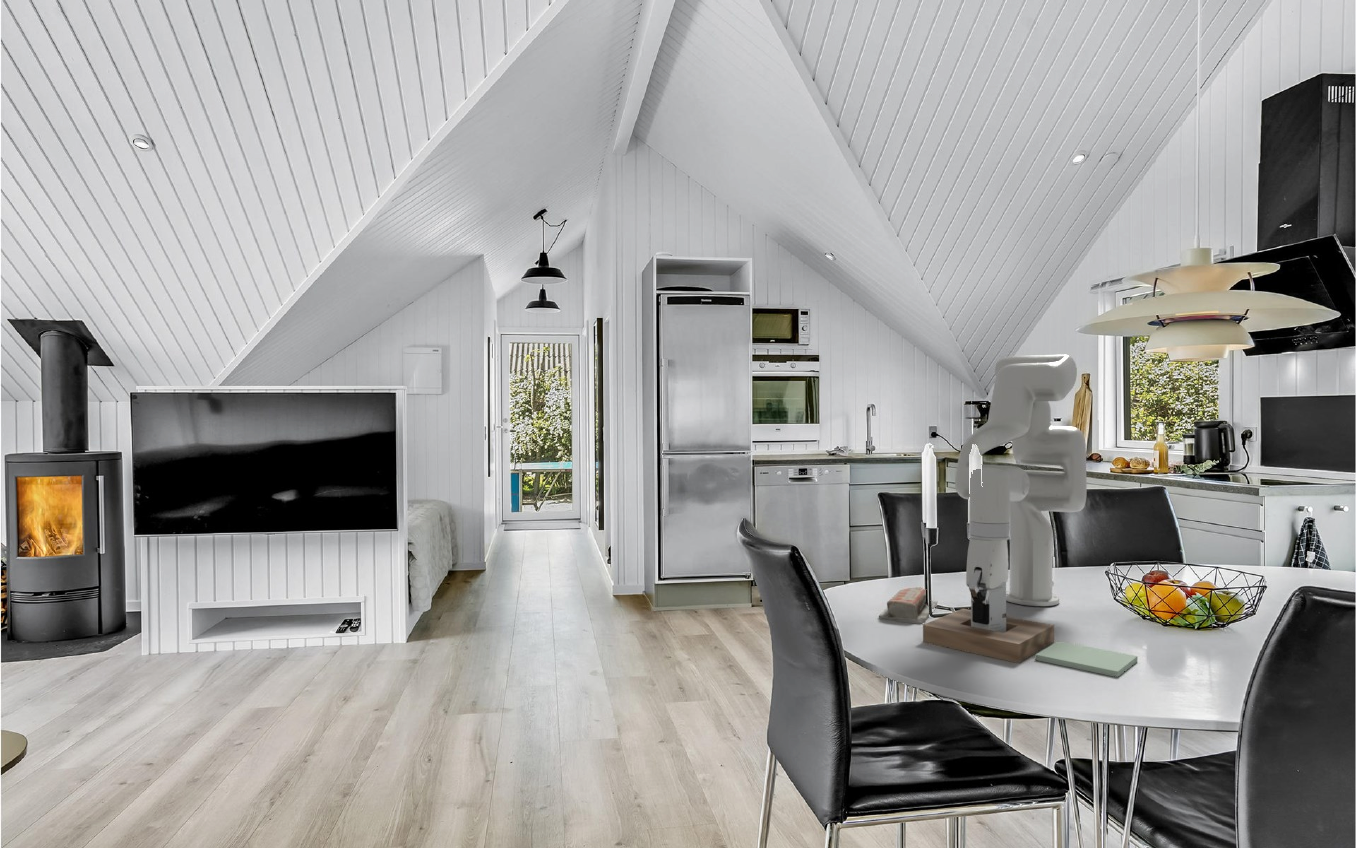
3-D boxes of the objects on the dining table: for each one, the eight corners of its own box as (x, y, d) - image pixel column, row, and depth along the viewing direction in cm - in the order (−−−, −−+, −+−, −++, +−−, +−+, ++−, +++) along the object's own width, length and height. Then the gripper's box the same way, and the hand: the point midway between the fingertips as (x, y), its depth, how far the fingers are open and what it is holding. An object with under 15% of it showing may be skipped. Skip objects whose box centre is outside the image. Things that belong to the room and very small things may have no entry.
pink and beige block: (924, 604, 176) (878, 599, 180) (924, 626, 176) (878, 621, 180) (938, 587, 192) (895, 583, 196) (938, 607, 192) (895, 603, 196)
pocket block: (962, 624, 175) (962, 608, 175) (1054, 642, 162) (1054, 625, 162) (922, 642, 162) (923, 624, 162) (1018, 663, 149) (1019, 644, 149)
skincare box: (989, 647, 158) (989, 586, 158) (969, 642, 162) (969, 582, 162) (1007, 642, 162) (1008, 582, 162) (987, 637, 166) (988, 578, 165)
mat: (1058, 646, 159) (1058, 641, 159) (1137, 661, 150) (1137, 656, 150) (1035, 659, 151) (1035, 654, 151) (1117, 677, 141) (1117, 671, 141)
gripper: (988, 524, 170) (988, 608, 171) (951, 533, 158) (951, 624, 158) (1025, 527, 165) (1024, 615, 166) (989, 537, 153) (989, 632, 153)
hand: (988, 618), depth 162 cm, fingers closed on skincare box, 6 cm apart
